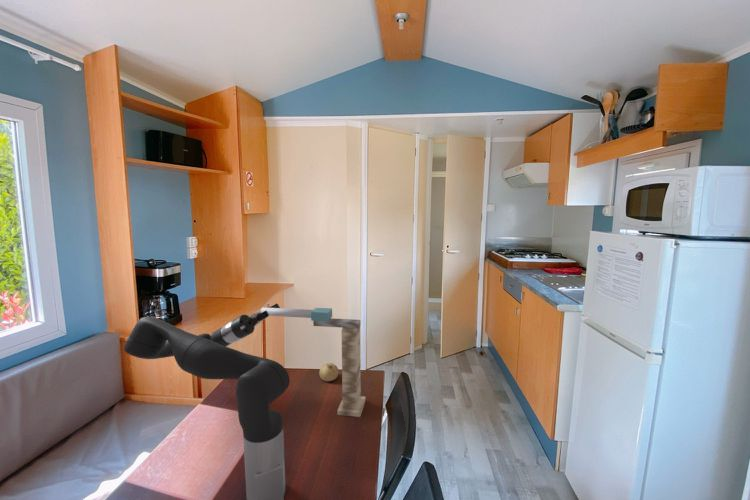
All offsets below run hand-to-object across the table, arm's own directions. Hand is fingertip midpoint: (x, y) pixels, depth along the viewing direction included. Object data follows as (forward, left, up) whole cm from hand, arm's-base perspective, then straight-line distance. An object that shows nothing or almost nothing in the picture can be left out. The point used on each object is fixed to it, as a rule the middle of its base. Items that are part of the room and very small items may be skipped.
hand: (273, 309), depth 119 cm
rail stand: (-15, -18, -35) cm, 42 cm away
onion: (+5, -23, -35) cm, 42 cm away
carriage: (-5, -6, -2) cm, 9 cm away
